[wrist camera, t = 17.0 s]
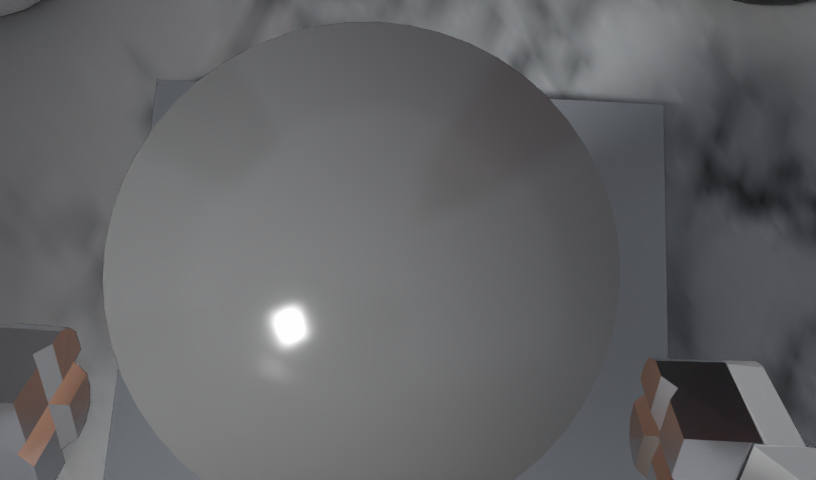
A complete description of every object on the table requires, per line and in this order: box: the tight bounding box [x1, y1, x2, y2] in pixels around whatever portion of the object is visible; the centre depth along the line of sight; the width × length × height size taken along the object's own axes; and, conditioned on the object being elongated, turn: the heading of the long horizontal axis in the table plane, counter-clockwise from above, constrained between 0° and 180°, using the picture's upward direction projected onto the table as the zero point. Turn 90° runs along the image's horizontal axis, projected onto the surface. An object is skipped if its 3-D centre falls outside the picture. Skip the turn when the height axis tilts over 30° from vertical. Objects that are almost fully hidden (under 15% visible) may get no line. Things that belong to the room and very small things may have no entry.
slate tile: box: [103, 79, 668, 480], centre depth 20 cm, size 14×14×1 cm
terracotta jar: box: [103, 22, 620, 480], centre depth 14 cm, size 5×5×12 cm
